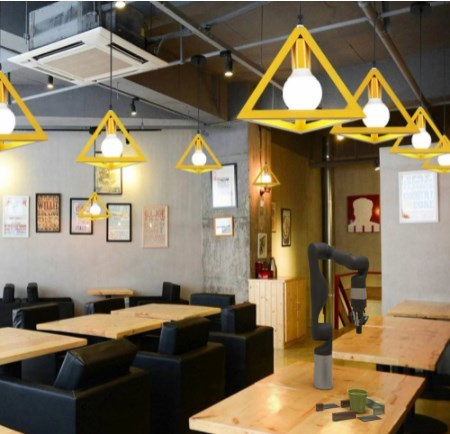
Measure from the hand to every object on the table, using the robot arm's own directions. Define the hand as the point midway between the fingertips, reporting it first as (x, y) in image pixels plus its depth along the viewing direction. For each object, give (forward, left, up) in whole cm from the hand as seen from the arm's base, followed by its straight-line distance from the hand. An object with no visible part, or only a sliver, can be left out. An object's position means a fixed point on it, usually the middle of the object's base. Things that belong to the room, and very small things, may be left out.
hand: (358, 333), depth 249 cm
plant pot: (+11, -9, -32) cm, 35 cm away
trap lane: (+11, -13, -32) cm, 36 cm away
